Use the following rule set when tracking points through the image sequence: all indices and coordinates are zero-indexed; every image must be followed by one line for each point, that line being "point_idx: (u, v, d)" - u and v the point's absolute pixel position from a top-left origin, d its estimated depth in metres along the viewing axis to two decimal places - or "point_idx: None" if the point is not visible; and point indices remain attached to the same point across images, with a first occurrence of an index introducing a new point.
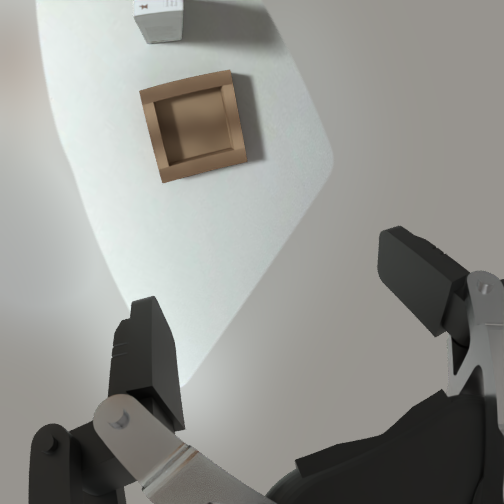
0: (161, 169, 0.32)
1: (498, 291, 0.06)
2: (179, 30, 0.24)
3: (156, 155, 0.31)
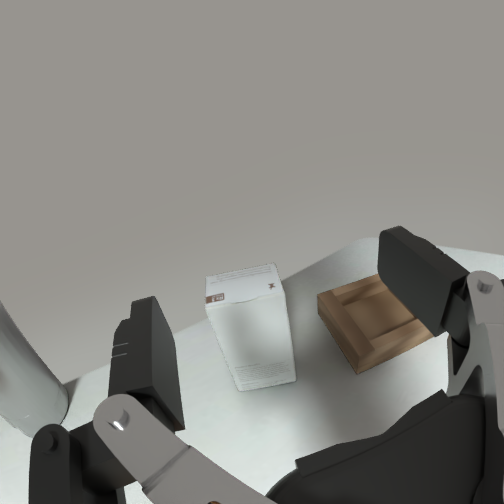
0: None
1: (498, 291, 0.06)
2: None
3: (421, 325, 0.27)
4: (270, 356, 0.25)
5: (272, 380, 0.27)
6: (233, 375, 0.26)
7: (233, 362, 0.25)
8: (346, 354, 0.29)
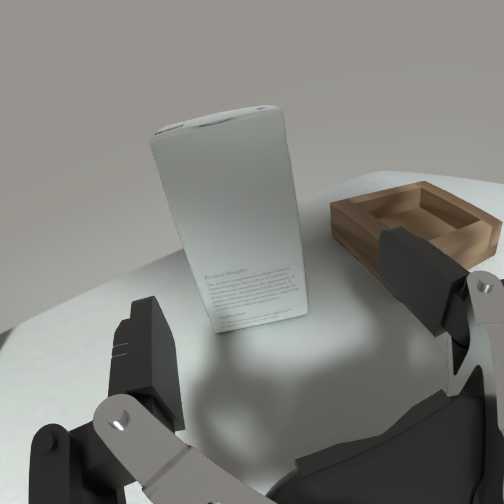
0: (489, 224, 0.18)
1: (498, 291, 0.06)
2: None
3: (479, 230, 0.17)
4: (263, 252, 0.15)
5: (269, 309, 0.17)
6: (203, 296, 0.17)
7: (201, 264, 0.15)
8: None
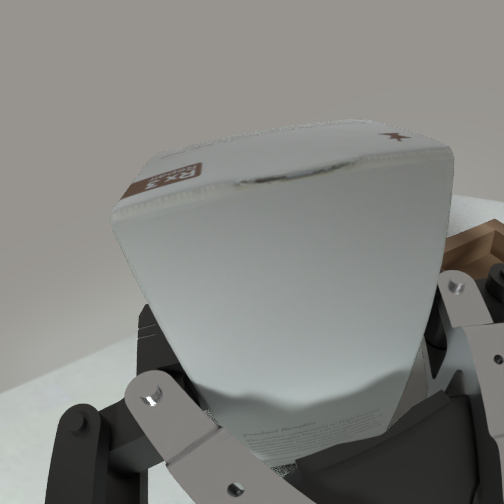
0: None
1: (470, 291, 0.06)
2: None
3: None
4: (349, 402, 0.08)
5: None
6: None
7: (239, 425, 0.08)
8: None
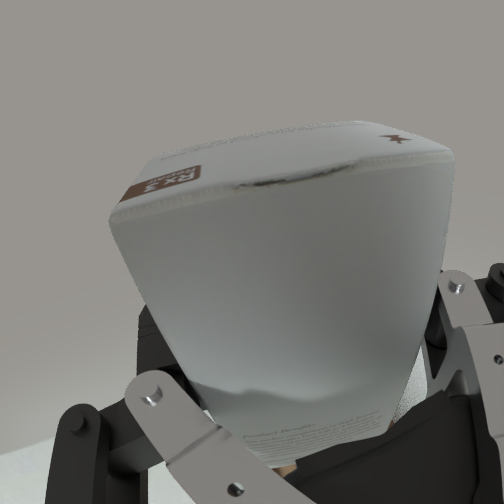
0: None
1: (470, 291, 0.06)
2: None
3: None
4: (348, 404, 0.08)
5: None
6: None
7: (238, 426, 0.08)
8: None
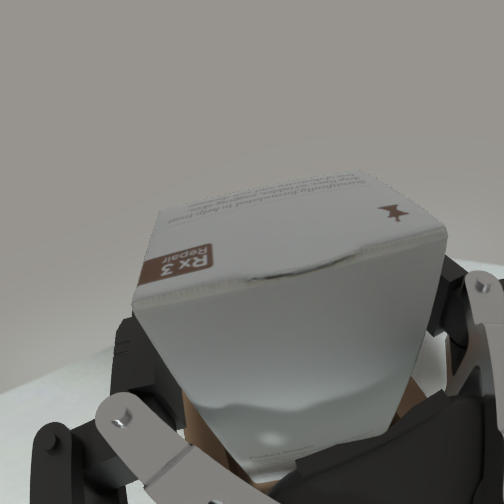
0: None
1: (496, 291, 0.06)
2: None
3: None
4: (343, 429, 0.08)
5: None
6: (244, 467, 0.09)
7: (245, 450, 0.08)
8: None
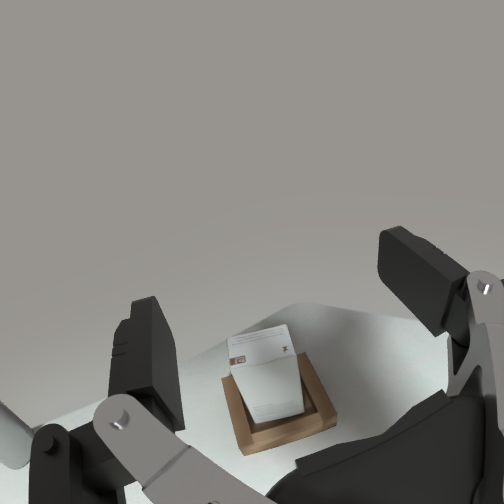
0: (322, 418, 0.29)
1: (498, 291, 0.06)
2: None
3: (307, 424, 0.28)
4: (282, 398, 0.28)
5: (284, 414, 0.31)
6: (251, 412, 0.30)
7: (252, 404, 0.28)
8: None
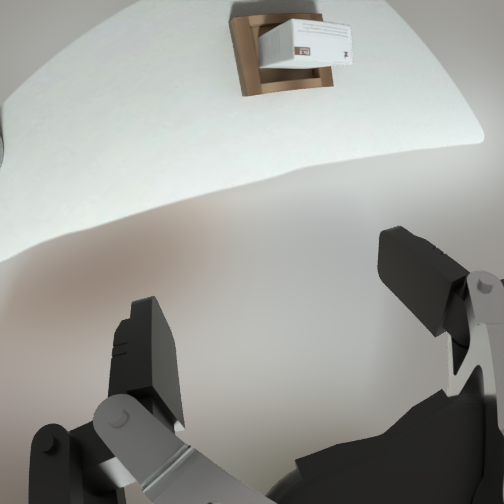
0: (321, 84, 0.32)
1: (498, 291, 0.06)
2: None
3: (309, 86, 0.32)
4: (304, 66, 0.28)
5: None
6: (267, 66, 0.29)
7: (276, 65, 0.27)
8: (239, 77, 0.32)
